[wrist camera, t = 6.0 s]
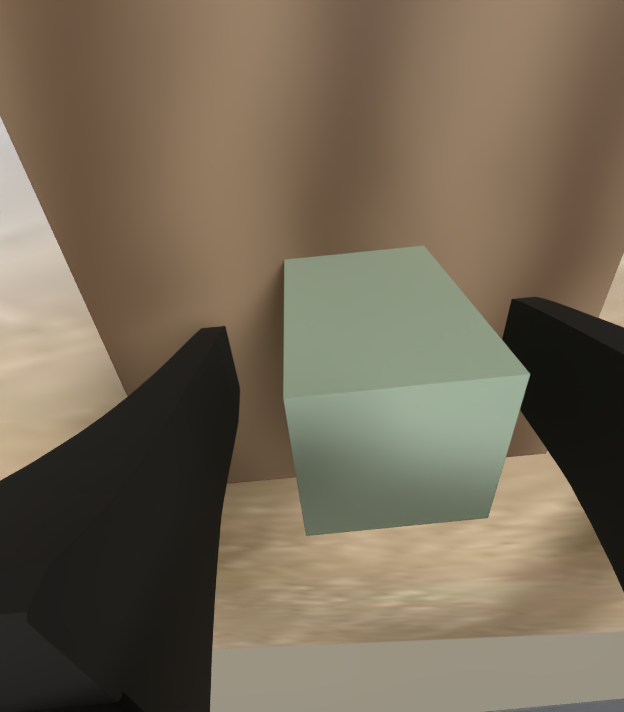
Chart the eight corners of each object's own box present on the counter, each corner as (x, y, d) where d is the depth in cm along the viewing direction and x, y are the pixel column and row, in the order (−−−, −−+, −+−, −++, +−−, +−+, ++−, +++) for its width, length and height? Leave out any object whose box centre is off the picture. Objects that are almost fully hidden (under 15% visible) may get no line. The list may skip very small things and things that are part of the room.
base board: (678, -75, 9) (762, -107, 8) (522, 420, 18) (545, 453, 17) (-4, -11, 9) (-66, -30, 8) (180, 452, 18) (169, 488, 17)
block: (424, 245, 11) (530, 373, 6) (414, 359, 14) (487, 517, 9) (284, 259, 11) (283, 398, 6) (298, 370, 14) (306, 535, 9)
